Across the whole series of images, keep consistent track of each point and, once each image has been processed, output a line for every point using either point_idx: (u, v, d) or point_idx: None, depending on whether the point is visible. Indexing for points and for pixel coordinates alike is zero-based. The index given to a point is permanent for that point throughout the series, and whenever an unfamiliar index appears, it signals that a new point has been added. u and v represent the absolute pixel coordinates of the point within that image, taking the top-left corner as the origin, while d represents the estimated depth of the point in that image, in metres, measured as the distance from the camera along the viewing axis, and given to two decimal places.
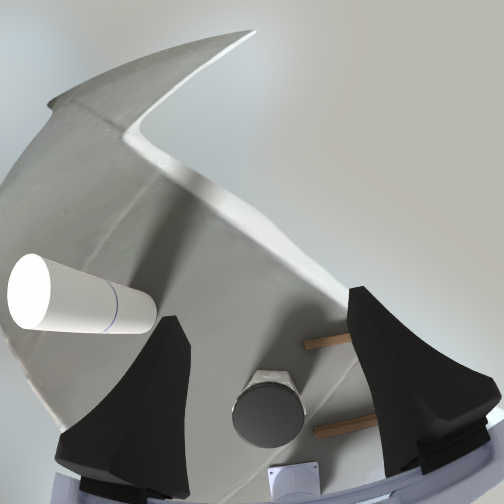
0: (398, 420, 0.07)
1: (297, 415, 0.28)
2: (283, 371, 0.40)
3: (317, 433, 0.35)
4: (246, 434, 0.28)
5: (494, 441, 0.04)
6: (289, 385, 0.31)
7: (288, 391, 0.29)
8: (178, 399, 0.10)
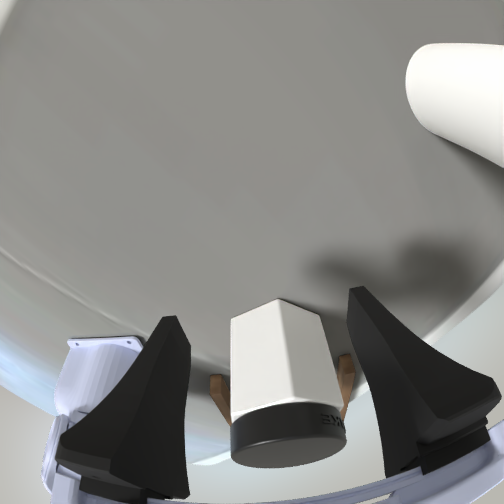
0: (398, 420, 0.07)
1: (290, 465, 0.18)
2: None
3: (218, 394, 0.28)
4: (258, 449, 0.15)
5: (494, 441, 0.04)
6: None
7: (329, 456, 0.17)
8: (178, 399, 0.10)
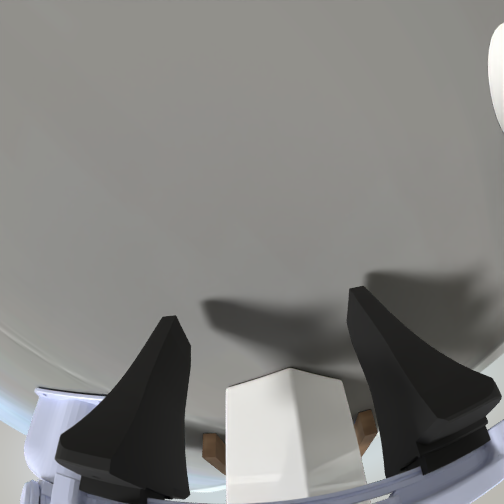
0: (398, 420, 0.07)
1: None
2: None
3: (213, 457, 0.20)
4: None
5: (494, 441, 0.04)
6: None
7: None
8: (178, 399, 0.10)
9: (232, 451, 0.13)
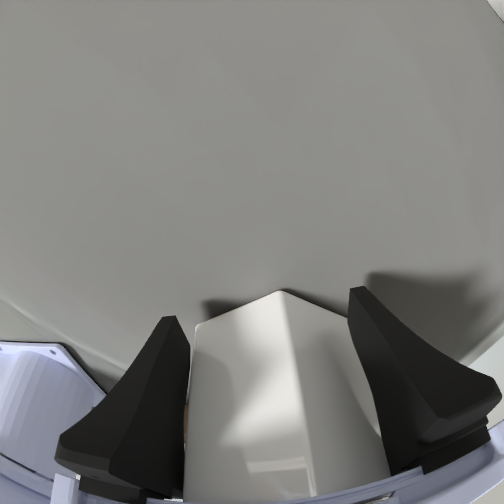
0: (399, 420, 0.07)
1: None
2: None
3: None
4: None
5: (494, 441, 0.04)
6: None
7: None
8: (177, 399, 0.10)
9: (196, 407, 0.10)
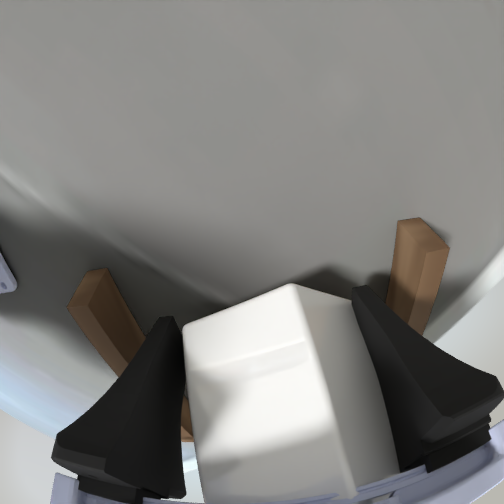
0: (402, 418, 0.07)
1: None
2: None
3: (85, 310, 0.10)
4: None
5: (494, 441, 0.04)
6: None
7: None
8: (175, 399, 0.10)
9: (205, 443, 0.08)
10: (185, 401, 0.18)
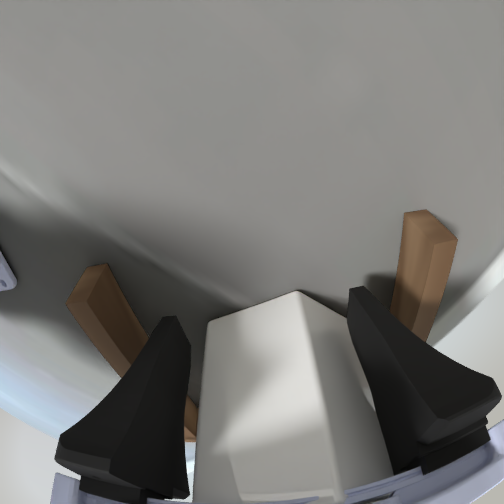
0: (398, 420, 0.07)
1: None
2: None
3: (84, 306, 0.10)
4: None
5: (494, 441, 0.04)
6: None
7: None
8: (178, 399, 0.10)
9: (209, 402, 0.10)
10: (188, 400, 0.18)
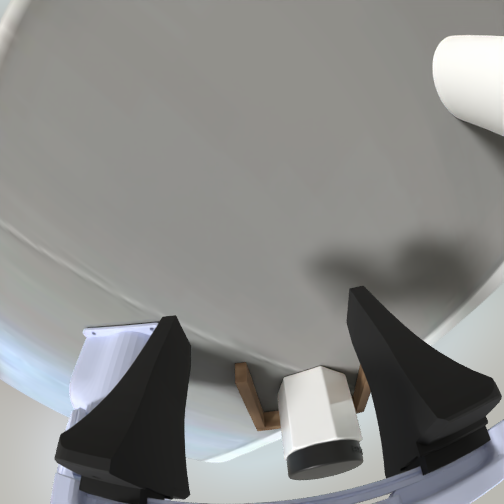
0: (398, 420, 0.07)
1: (321, 477, 0.25)
2: None
3: (244, 382, 0.27)
4: (312, 469, 0.22)
5: (494, 441, 0.04)
6: None
7: (348, 470, 0.24)
8: (178, 399, 0.10)
9: (292, 410, 0.27)
10: (261, 409, 0.36)
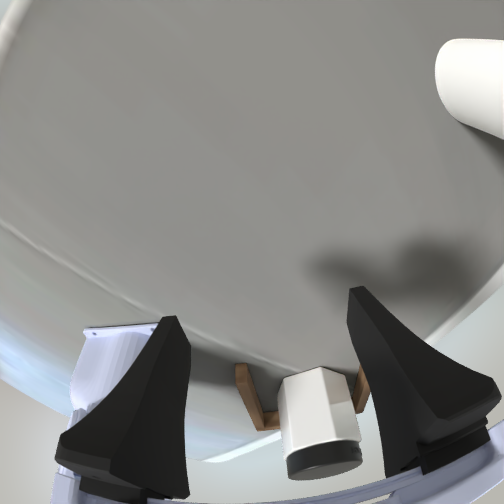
0: (398, 420, 0.07)
1: (321, 477, 0.25)
2: None
3: (244, 383, 0.28)
4: (312, 470, 0.22)
5: (494, 441, 0.04)
6: None
7: None
8: (178, 399, 0.10)
9: (292, 411, 0.27)
10: (261, 409, 0.36)
